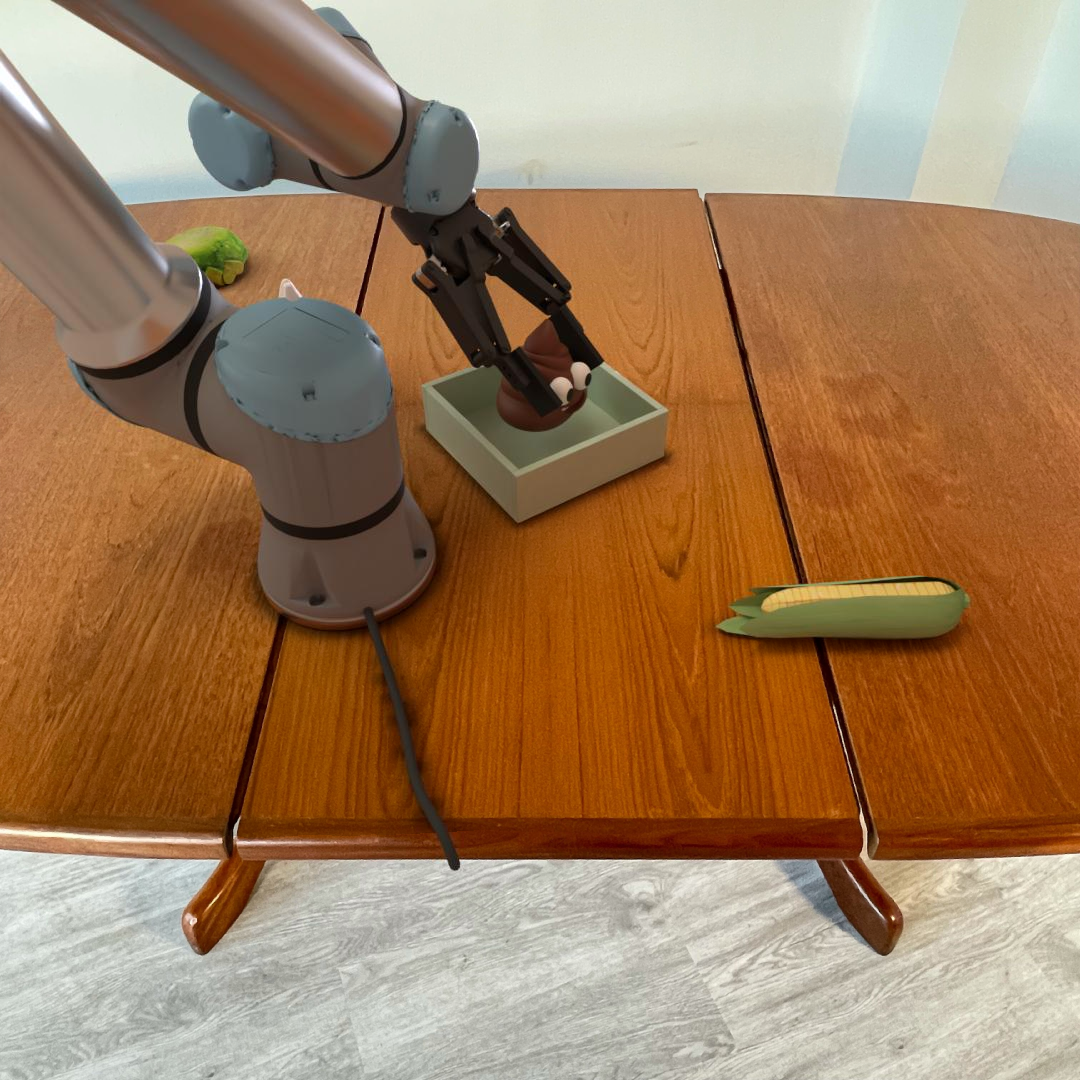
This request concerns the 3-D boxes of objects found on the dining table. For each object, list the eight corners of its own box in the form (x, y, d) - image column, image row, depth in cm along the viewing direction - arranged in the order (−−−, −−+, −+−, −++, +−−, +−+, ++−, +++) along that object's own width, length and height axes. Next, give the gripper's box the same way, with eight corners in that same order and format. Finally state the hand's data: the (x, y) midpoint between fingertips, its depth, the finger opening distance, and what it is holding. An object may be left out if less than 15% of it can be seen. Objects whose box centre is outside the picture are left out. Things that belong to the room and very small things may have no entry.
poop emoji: (537, 371, 92) (536, 289, 86) (606, 398, 89) (611, 315, 82) (478, 417, 86) (473, 333, 80) (550, 448, 83) (550, 363, 76)
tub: (664, 456, 88) (669, 410, 85) (517, 523, 81) (516, 477, 78) (563, 376, 99) (564, 332, 95) (426, 429, 92) (420, 384, 88)
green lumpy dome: (266, 264, 119) (257, 228, 116) (205, 298, 112) (194, 261, 109) (206, 245, 124) (196, 210, 120) (145, 277, 117) (132, 241, 114)
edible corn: (968, 646, 70) (987, 609, 67) (720, 655, 70) (728, 617, 67) (944, 599, 74) (962, 561, 71) (709, 607, 74) (716, 569, 71)
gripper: (461, 170, 87) (598, 354, 93) (326, 252, 75) (493, 459, 80) (503, 123, 82) (647, 323, 87) (365, 204, 69) (543, 431, 75)
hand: (573, 388), depth 84 cm, fingers closed on poop emoji, 7 cm apart
